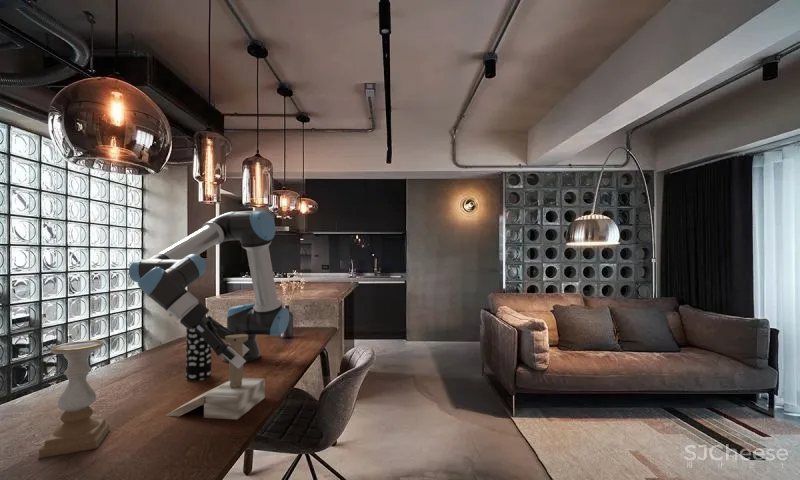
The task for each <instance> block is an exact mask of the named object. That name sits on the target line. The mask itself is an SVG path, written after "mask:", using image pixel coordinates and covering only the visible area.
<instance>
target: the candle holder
mask: <svg viewBox="0 0 800 480" xmlns="http://www.w3.org/2000/svg"><path fill="white" fill-rule="evenodd" d="M104 345H105V342H104V341H103V340H100V339H99V340H98V339H94V340H93V339H91V340H90V339H89V340H79V341H71V342H65V343H61V344H58V345H54V346H52V347H51V348H50V353H52V354H54V355H63V357H64V358H65V359H66V360H67V362H68V366H67V368H66V369H65V371H63V375H64V376H66V378H67V379H68V384H67V385H66V387H65V389H64V390H63V392H62V393H60V396H59V397H58V400H57V407H58V408H59V409H60V410H61V411H64V412H62V414H61V415H60V421H61V423H62V424H60V425H59V426H58V427H57V428H56V429H55V430H53V432H52V433H51V434H50V435H48V437H47V438H46V440H45V441H44V444H43V445H42V446H41V447H40V448H39V450H38V459H43V458H50V457H55V456H57V457H58V456H63V455H68V454H75V453H79V452H86V451H90V450H95V449H97V448H98V447H99V446H100V445H101V443H102V442H103V440H104V439H105V437H106V436H107V435H108V433H109V431H110V422H106V419H105V418H97V419H95V418H92V417H91V416H92V415H94V410H93V408H92V407H90V406H91V405H92V404H94V402H95V401H96V399H97V393H96V391H95V389H94V388H93V387H92V386H91V385H90V384H89V382H88V380H87V377H88V376H89V374H90V371H92V367H90V365H89V363H88V359H89V357H90V355H92V352H93V351H94V350H98V349H100V348H103V347H104Z"/></svg>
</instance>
